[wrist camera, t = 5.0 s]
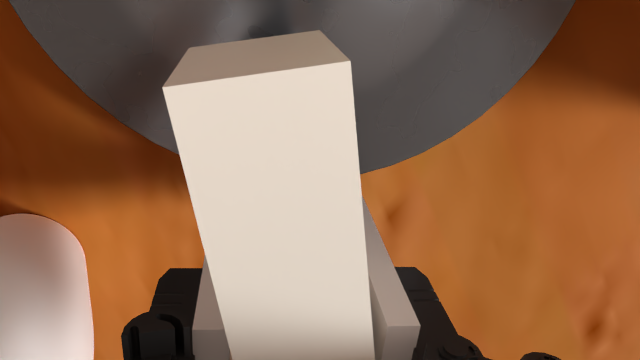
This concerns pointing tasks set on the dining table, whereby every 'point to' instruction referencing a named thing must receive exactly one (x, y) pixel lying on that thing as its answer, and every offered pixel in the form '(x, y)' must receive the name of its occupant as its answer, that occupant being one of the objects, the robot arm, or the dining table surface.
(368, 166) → the base
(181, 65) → the handle
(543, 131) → the dining table surface
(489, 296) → the dining table surface
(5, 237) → the mug
